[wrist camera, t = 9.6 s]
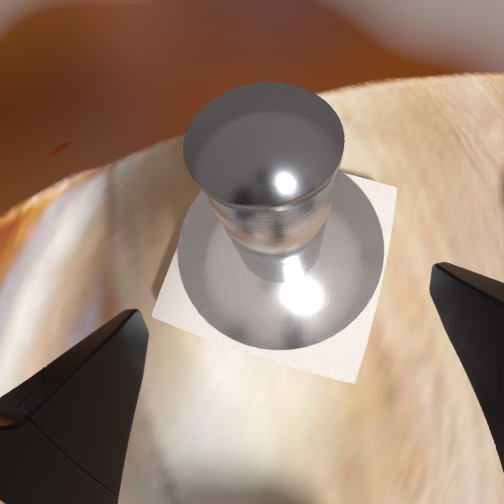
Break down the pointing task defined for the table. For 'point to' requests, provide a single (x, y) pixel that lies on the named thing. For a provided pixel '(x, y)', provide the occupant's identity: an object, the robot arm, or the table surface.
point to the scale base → (307, 359)
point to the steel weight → (268, 172)
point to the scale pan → (285, 293)
